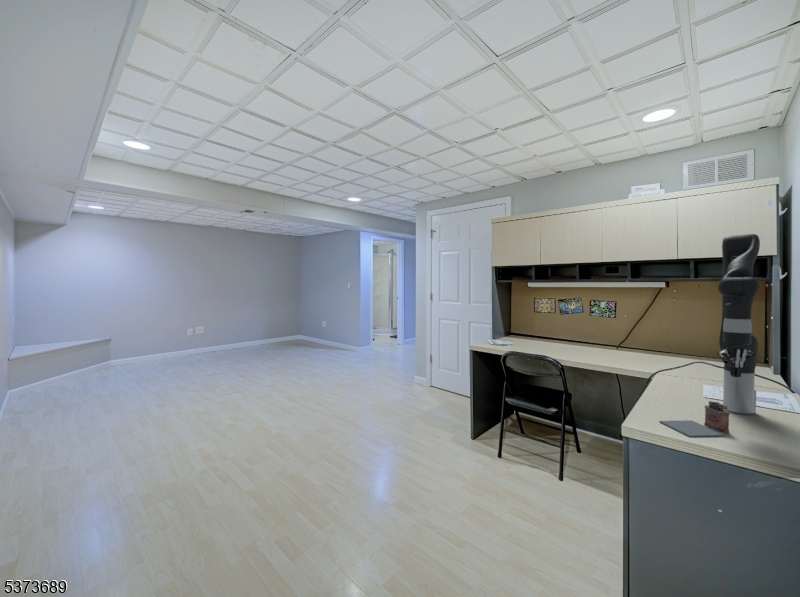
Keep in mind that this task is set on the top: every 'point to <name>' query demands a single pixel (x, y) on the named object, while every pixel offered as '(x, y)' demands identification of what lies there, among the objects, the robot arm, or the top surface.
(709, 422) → the lighter
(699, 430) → the mat
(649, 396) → the top surface
